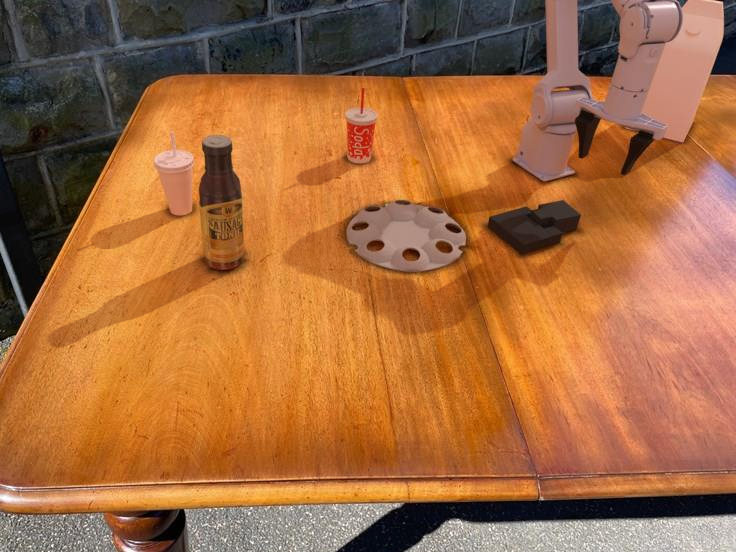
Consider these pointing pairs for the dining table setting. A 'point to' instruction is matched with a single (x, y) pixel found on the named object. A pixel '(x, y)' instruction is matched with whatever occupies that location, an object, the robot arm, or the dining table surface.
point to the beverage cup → (360, 132)
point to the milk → (686, 68)
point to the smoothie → (176, 178)
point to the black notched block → (556, 216)
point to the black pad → (523, 231)
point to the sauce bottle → (221, 206)
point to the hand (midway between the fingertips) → (603, 164)
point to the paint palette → (406, 236)
